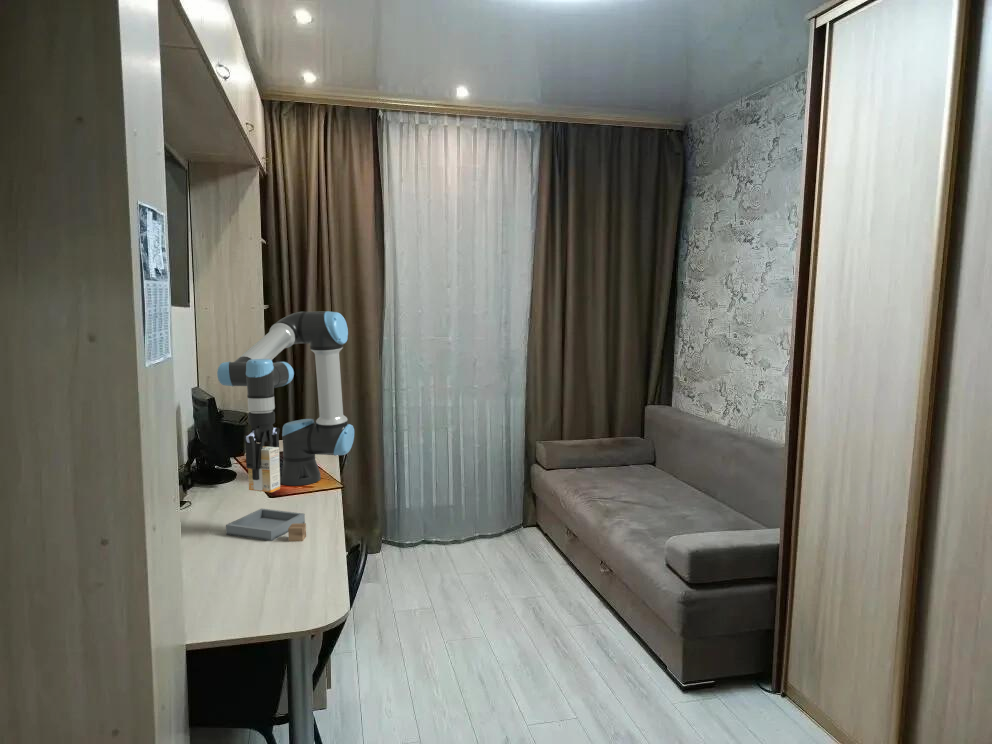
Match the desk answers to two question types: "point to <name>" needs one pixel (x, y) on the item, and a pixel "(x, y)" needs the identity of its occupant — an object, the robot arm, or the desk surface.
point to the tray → (264, 524)
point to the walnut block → (297, 532)
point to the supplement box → (268, 470)
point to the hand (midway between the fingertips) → (264, 487)
